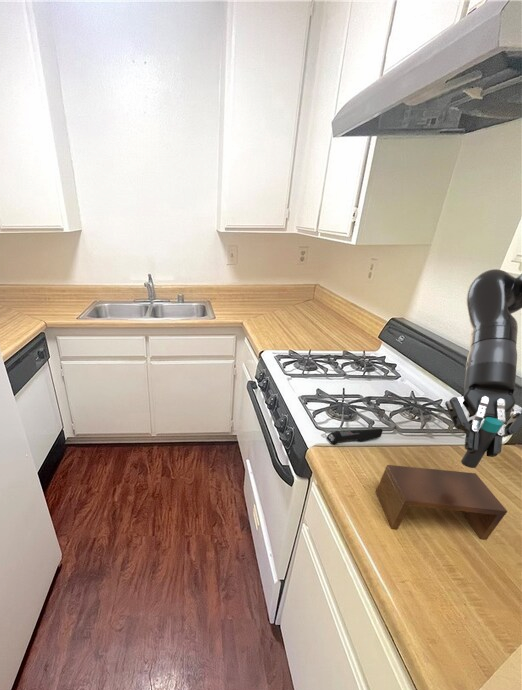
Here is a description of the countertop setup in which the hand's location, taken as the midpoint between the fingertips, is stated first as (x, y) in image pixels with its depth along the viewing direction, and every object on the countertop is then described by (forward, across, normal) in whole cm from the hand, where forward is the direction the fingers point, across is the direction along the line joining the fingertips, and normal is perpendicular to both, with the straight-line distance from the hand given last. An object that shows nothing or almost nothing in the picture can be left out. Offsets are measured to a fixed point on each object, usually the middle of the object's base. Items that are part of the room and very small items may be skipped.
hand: (482, 453), depth 64 cm
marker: (+1, 0, +4) cm, 4 cm away
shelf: (+12, -4, +11) cm, 17 cm away
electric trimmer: (-5, -17, +29) cm, 34 cm away
